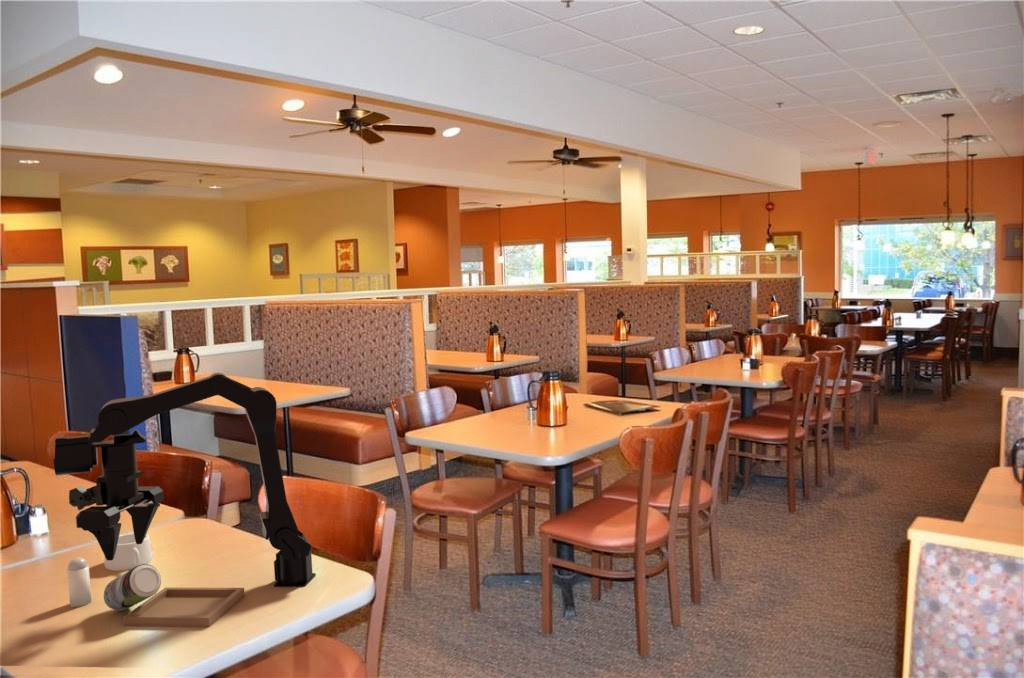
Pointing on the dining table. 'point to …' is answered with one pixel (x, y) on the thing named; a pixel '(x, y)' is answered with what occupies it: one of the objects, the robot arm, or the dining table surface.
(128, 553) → the mug
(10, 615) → the dining table surface
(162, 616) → the tray
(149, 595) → the beverage can
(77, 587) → the salt shaker
